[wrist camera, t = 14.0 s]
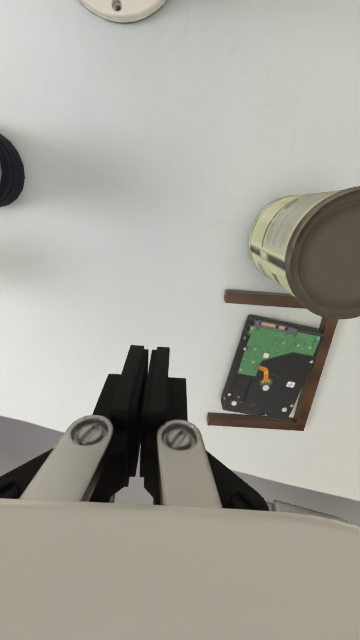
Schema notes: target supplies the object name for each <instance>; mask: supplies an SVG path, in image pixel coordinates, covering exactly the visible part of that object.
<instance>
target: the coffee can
mask: <svg viewBox="0 0 360 640" xmlns="http://www.w3.org/2000/svg"><path fill="white" fill-rule="evenodd" d="M248 245H249V253H250V256H251V259H252V261H253V263H254V265H255V266H256V267H257V269H258V270H259V271H260V272H262V273H263V274H264V275H266V276H268V277H269V278H270V279H272V280H273V281H274V282H276V283H277V284H278V285H280V286H281V287H282V288H284V289H285V290H286V291H287V292H289V293H290V294H291V295H293V296H294V297H295V298H297V300H298V301H299V302H300V303H301V304H302V305H303V306H304V307H305V308H307V309H308V310H309V311H311V312H313V313H315V314H317V315H319V316H322V317H326V318H331V319H350V318H355V317H358V316H360V186H358V187H353V188H349V189H345V190H340V191H332V192H323V193H315V194H307V195H300V196H299V195H294V196H287V197H283V198H280V199H277V200H276V201H274V202H272V203H271V204H269V205H268V206H267V207H266V208H264V209H263V210H262V211H261V213H260V214H259V215H258V217H257V218H256V220H255V222H254V223H253V225H252V228H251V231H250V235H249V243H248Z"/></svg>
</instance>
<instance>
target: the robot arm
mask: <svg viewBox="0 0 360 640" xmlns="http://www.w3.org/2000/svg"><path fill="white" fill-rule="evenodd" d="M79 1H80V2H81V3H82V4H83V5H84V6H85V7H86V8H87V9H89V10H90V11H92V12H93V13H94V14H96V15H97V16H100V17H102V18H105V19H107V20H109V21H115V22H121V23H124V22H135V21H137V20H140V19H143V18H146V17H148V16H149V15H151V14H152V13H154V12H155V11H157V10H158V9H159V8H160V7H161V6H162V5H163V4H164V3H165V2H166V1H167V0H79ZM118 8H120V11H116V10H117V9H118ZM169 352H170V348H168V347H157V350H152V354H151V359H150V365H149V371H148V350H147V349H144V346H137V345H131V346H130V349H129V352H128V356H127V359H126V362H125V365H124V368H123V371H122V374H109V375H108V377H107V379H106V382H105V384H104V387H103V389H102V392H101V394H100V397H99V399H98V402H97V404H96V407H95V409H94V412H93V414H92V415H89V416H85V417H82V418H79V419H78V420H76V421H75V422H73V423H72V424H71V425H70V426H69V427H68V429H67V430H66V432H65V433H64V435H63V436H62V438H61V439H60V441H59V442H58V443H57V445H56V447H55V448H53V449H51V450H49V451H47V452H45V453H43V454H42V455H40V456H38V457H36V458H34V459H32V460H30V461H29V462H27V463H25V464H23V465H21V466H19V467H18V468H16V469H14V470H12V471H10V472H9V473H6V474H5V475H3V476H1V477H0V640H360V528H359V527H357V526H354V525H352V524H350V523H349V522H348V521H346V520H344V519H341V518H339V517H336V516H332V515H329V514H325V513H321V512H317V511H314V510H310V509H307V508H303V507H299V506H296V505H292V504H289V503H285V502H281V501H277V500H274V501H273V503H270V502H266V501H265V500H264V498H263V497H261V495H260V494H259V493H258V492H257V491H255V490H254V489H253V488H252V487H250V486H249V485H248V484H247V483H245V482H244V481H243V480H242V479H241V478H239V477H238V476H237V475H236V474H234V473H233V472H232V471H231V470H230V469H228V468H227V467H226V466H225V465H223V464H222V463H221V462H220V461H218V460H217V459H216V458H215V457H214V456H212V455H211V454H210V453H209V452H207V451H206V449H205V446H204V442H203V439H202V435H201V433H200V431H199V429H198V428H197V427H196V426H195V425H194V424H192V423H190V422H188V419H187V394H186V378H170V377H168V368H169ZM140 443H141V449H140ZM139 450H140V477H144V488H145V489H146V490H147V491H148V492H149V493H150V494H151V496H152V497H153V505H145V504H124V503H114V499H115V493H116V492H118V491H119V490H120V489H122V488H123V487H128V483H129V477H130V476H131V477H135V475H136V469H137V463H138V456H139Z"/></svg>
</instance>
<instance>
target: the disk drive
mask: <svg viewBox="0 0 360 640" xmlns="http://www.w3.org/2000/svg"><path fill="white" fill-rule="evenodd" d="M324 337H325V336H324V335H323V334H322V333H321V332H320V331H319V330H318V329H316V328H311V327H307V326H302V325H298V324H293V323H288V322H283V321H278V320H273V319H269V318H263V317H259V316H253V315H249V316H248V319H247V321H246V324H245V327H244V330H243V333H242V336H241V339H240V342H239V345H238V348H237V351H236V354H235V357H234V360H233V363H232V367H231V370H230V373H229V376H228V379H227V382H226V385H225V388H224V391H223V394H222V398H221V403H222V408H223V410H227V411H233V412H240V413H244V414H249V415H255V416H261V415H265V414H267V416H270V417H272V418H273V419H277V420H283V421H287V419H288V417H289V415H290V413H291V411H292V409H293V406H294V404H295V402H296V400H297V397H298V395H299V393H300V390H301V388H302V386H303V384H304V381H305V380H306V377H307V375H308V373H309V371H310V368H311V367H312V364H313V362H314V359H315V357H316V356H317V353H318V352H319V349H320V346H321V344H322V342H323V339H324Z"/></svg>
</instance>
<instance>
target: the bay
mask: <svg viewBox="0 0 360 640" xmlns="http://www.w3.org/2000/svg"><path fill="white" fill-rule="evenodd" d="M224 300H225V302H226V303H237V304H251V305H265V306H278V307H292V308H305V307H304V306H303V305H302V304H301V303H300V302H299V301H298V300H297V298H295V297H294V296H293V295H291V294H279V293H265V292H252V291H239V290H225V297H224ZM305 309H307V308H305ZM337 322H338V319H331V318H326V317H323V319H322V322H321V326H320V329H319V331H320V332H321V333H322V334H323V335H324V336H325V337H324V339H323V342H322V344H321V346H320V349H319V352H318V353H317V356H316V357H315V359H314V362H313V364H312V367H311V368H310V371H309V373H308V375H307V377H306V380H305V381H304V385H303V388H302V392H301V395H300V398H299V402H298V405H297V409H296V412H295V416H294V418H288V419H287V421H283V420H277V419H273V418H272V417H268V416H252V415H236V414H220V413H208V416H207V424H208V425H216V426H232V427H249V428H265V429H282V430H297V431H304V428H305V425H306V421H307V418H308V415H309V412H310V409H311V405H312V402H313V399H314V396H315V392H316V389H317V386H318V383H319V380H320V376H321V373H322V370H323V367H324V364H325V360H326V357H327V354H328V351H329V348H330V344H331V341H332V338H333V335H334V331H335V328H336V325H337Z"/></svg>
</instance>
